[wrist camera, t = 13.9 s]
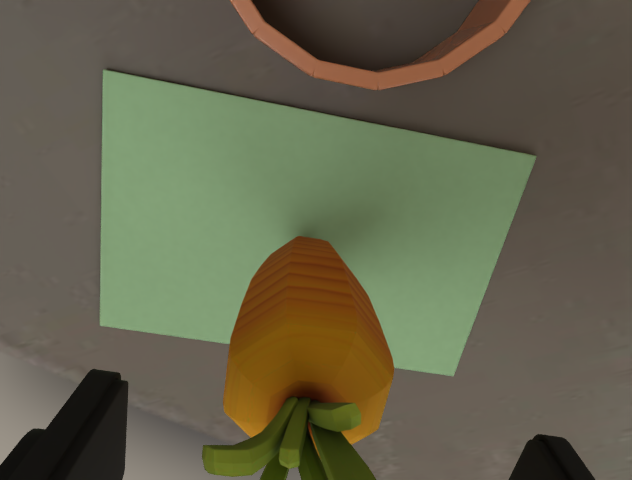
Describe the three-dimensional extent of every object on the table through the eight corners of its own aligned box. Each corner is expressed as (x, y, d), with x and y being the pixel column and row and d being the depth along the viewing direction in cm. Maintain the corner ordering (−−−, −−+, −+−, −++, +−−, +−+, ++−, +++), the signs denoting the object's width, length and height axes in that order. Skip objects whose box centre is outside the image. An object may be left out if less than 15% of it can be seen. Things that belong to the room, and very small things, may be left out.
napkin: (533, 155, 20) (536, 156, 20) (451, 373, 25) (453, 376, 25) (105, 69, 18) (102, 69, 18) (102, 322, 23) (99, 325, 23)
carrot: (270, 298, 22) (216, 670, 8) (244, 211, 21) (118, 498, 7) (362, 278, 22) (465, 628, 8) (344, 188, 20) (434, 437, 6)
